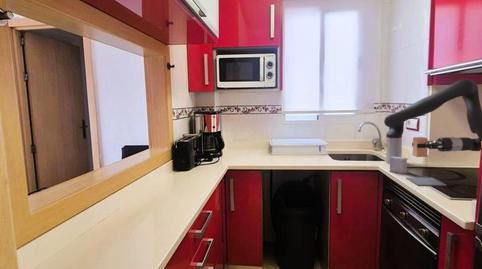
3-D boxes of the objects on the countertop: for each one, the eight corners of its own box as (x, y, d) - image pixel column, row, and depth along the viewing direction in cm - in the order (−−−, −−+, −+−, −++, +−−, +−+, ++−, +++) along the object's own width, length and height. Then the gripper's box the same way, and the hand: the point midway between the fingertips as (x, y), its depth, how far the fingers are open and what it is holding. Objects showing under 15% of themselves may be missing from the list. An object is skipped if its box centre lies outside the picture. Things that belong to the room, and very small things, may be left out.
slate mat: (406, 178, 149) (406, 177, 149) (432, 178, 147) (432, 177, 147) (417, 185, 136) (417, 184, 136) (446, 185, 134) (446, 184, 134)
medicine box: (406, 172, 161) (407, 157, 160) (404, 173, 159) (404, 159, 158) (392, 170, 167) (392, 156, 166) (389, 171, 164) (389, 157, 164)
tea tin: (412, 155, 152) (413, 137, 151) (422, 155, 151) (422, 137, 150) (417, 156, 147) (417, 138, 146) (427, 156, 146) (427, 138, 145)
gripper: (441, 135, 153) (408, 136, 155) (457, 139, 139) (421, 140, 141) (441, 149, 154) (408, 149, 156) (457, 153, 140) (421, 154, 142)
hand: (414, 145), depth 149 cm, fingers closed on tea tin, 5 cm apart
